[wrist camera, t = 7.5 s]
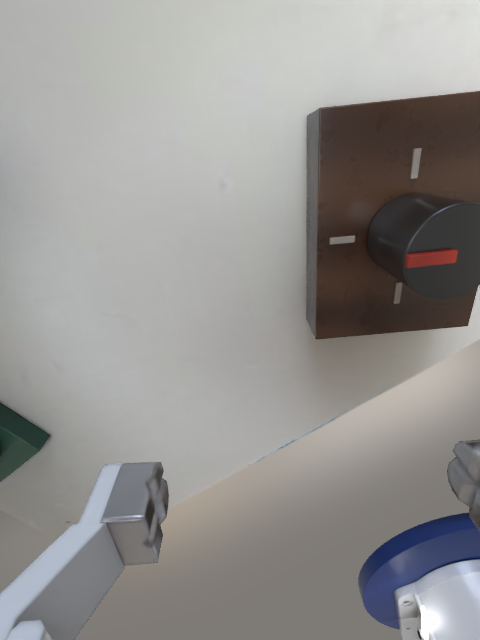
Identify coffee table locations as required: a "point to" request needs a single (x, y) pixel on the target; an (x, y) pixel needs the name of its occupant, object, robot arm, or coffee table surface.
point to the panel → (371, 195)
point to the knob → (428, 244)
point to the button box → (17, 441)
